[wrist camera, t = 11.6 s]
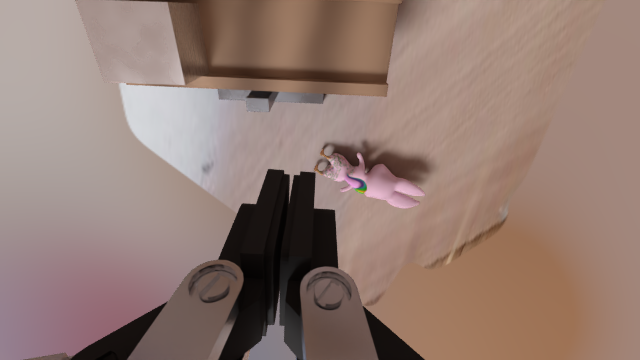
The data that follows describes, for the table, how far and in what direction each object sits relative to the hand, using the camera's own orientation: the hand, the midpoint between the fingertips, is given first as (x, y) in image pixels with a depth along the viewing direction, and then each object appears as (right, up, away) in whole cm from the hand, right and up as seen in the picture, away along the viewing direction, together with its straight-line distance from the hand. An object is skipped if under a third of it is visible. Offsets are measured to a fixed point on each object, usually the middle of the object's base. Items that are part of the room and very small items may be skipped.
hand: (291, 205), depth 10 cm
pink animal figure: (+8, +2, +29) cm, 30 cm away
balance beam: (-4, +13, +14) cm, 20 cm away
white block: (-12, +13, +13) cm, 22 cm away
